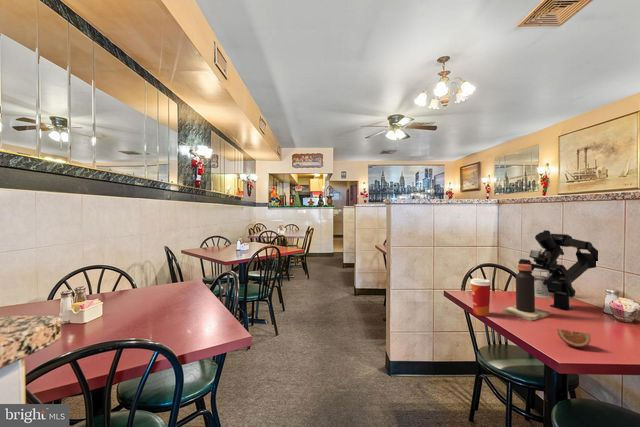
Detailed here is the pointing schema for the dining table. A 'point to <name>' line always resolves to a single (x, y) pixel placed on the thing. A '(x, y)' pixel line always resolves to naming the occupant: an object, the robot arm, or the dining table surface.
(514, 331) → the dining table surface
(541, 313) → the napkin
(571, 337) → the fruit slice
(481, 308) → the coffee cup
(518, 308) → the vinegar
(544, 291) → the french press
